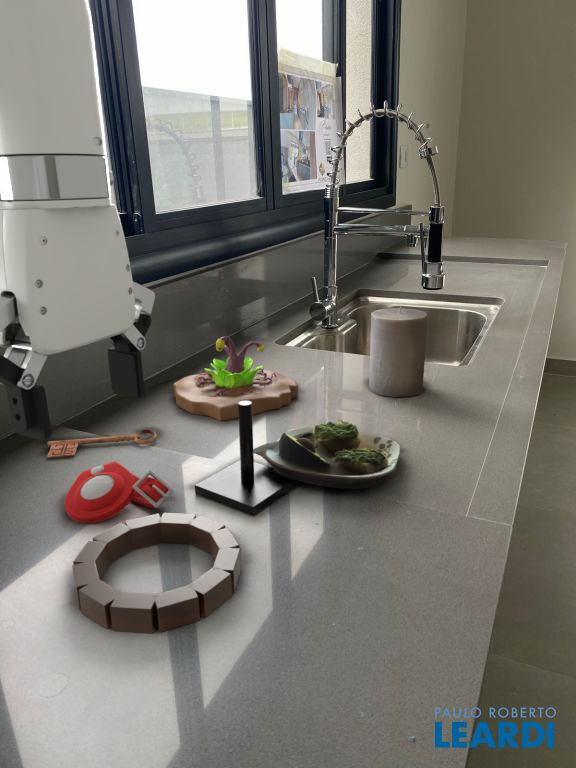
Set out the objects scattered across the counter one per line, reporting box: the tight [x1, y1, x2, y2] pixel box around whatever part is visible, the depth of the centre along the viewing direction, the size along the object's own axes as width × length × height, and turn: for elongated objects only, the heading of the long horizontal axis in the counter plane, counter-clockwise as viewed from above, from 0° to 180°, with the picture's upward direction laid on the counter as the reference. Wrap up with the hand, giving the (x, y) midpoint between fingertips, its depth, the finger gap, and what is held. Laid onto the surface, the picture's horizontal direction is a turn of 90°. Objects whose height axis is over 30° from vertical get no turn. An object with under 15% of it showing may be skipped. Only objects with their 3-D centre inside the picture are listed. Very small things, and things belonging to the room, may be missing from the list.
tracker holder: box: [64, 461, 175, 524], centre depth 70 cm, size 12×4×10 cm
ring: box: [71, 512, 242, 634], centre depth 57 cm, size 15×15×2 cm
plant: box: [173, 336, 299, 422], centre depth 103 cm, size 20×20×11 cm
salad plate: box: [253, 419, 401, 490], centre depth 80 cm, size 19×18×5 cm
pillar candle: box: [368, 305, 428, 398], centre depth 106 cm, size 10×10×15 cm
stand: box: [194, 401, 300, 517], centre depth 71 cm, size 9×9×11 cm
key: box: [46, 429, 157, 459], centre depth 85 cm, size 6×1×15 cm
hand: (85, 413), depth 48 cm, fingers open, 9 cm apart
